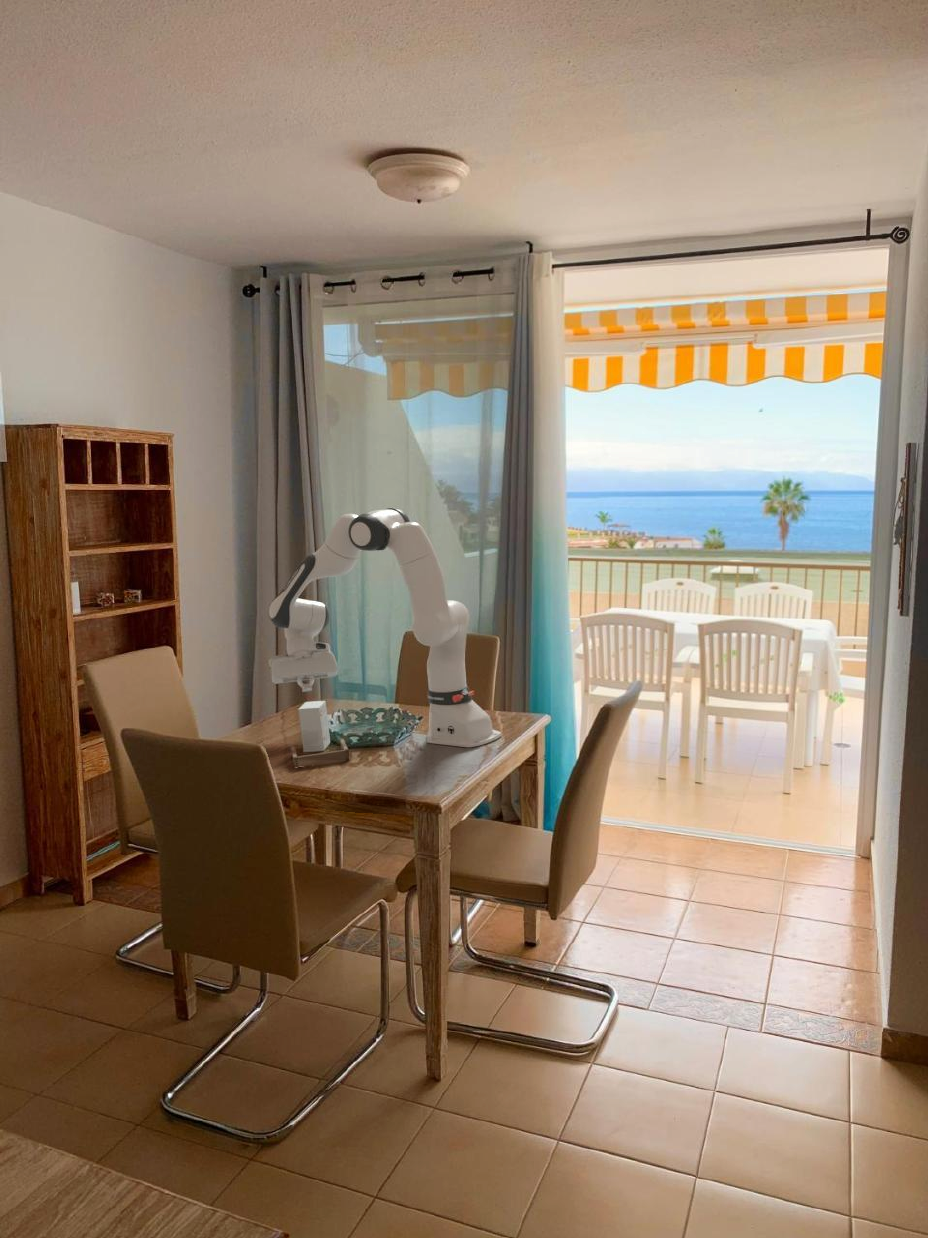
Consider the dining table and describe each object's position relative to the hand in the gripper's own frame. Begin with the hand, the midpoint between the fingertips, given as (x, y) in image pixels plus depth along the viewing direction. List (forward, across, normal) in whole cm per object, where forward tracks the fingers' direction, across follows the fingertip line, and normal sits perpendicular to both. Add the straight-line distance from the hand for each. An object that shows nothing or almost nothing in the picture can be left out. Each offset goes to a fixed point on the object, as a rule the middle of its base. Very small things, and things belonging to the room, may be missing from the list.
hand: (307, 690), depth 291 cm
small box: (+20, 0, 0) cm, 20 cm away
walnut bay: (+28, 0, -8) cm, 29 cm away
